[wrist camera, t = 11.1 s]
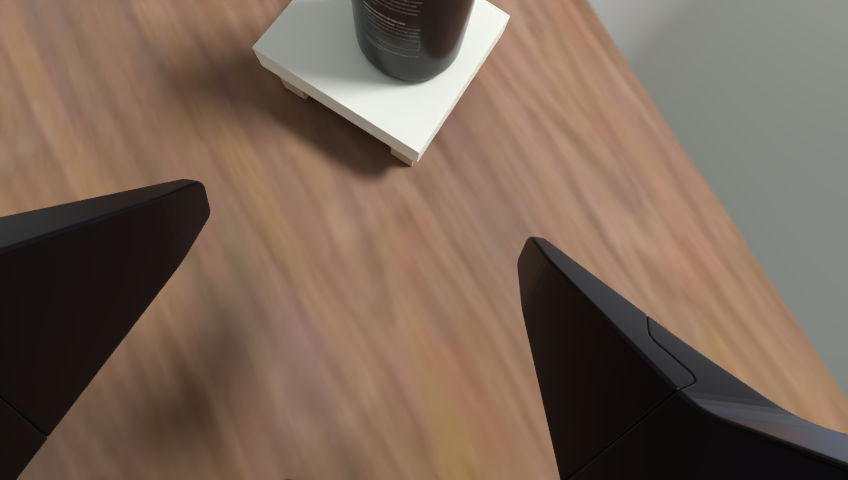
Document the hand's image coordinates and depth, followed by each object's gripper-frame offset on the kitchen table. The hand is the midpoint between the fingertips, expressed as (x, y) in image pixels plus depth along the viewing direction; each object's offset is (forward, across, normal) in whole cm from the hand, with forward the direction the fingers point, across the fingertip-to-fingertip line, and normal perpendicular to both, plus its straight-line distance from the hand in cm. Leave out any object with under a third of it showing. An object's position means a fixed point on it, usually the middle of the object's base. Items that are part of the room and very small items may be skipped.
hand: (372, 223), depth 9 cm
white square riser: (+20, +2, -1) cm, 20 cm away
